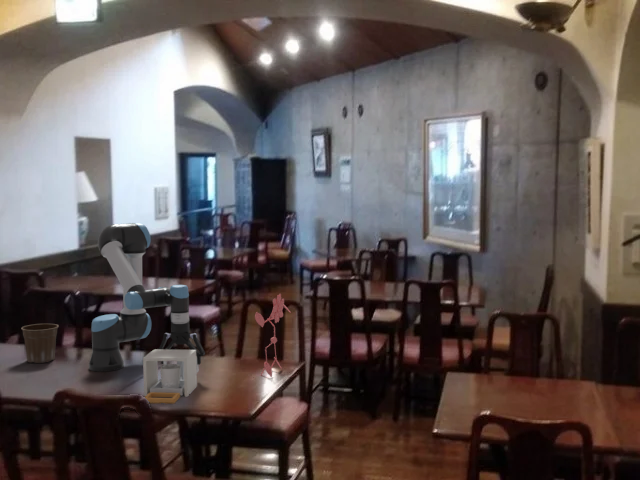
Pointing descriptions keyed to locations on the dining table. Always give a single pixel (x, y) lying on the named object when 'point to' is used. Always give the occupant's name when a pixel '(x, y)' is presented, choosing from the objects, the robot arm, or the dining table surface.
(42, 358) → the plant pot
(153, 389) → the square frame with handle
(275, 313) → the figurine
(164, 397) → the frame
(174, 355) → the tunnel
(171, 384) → the white cup
